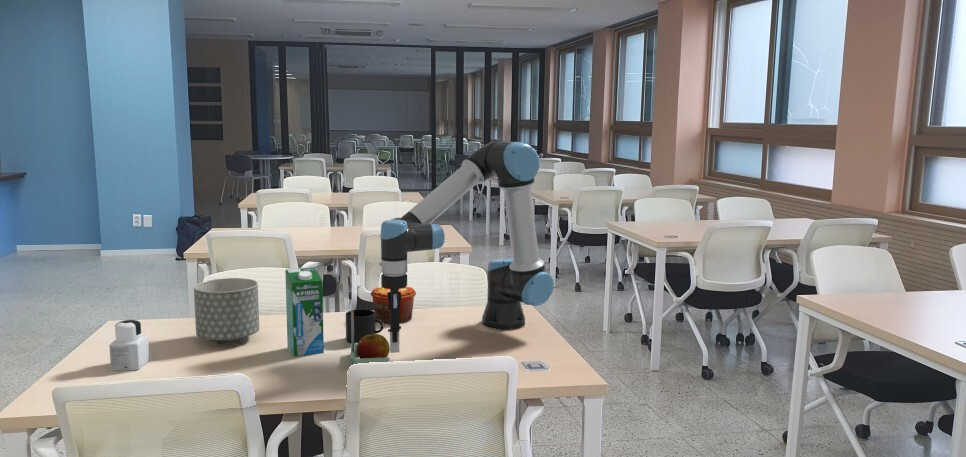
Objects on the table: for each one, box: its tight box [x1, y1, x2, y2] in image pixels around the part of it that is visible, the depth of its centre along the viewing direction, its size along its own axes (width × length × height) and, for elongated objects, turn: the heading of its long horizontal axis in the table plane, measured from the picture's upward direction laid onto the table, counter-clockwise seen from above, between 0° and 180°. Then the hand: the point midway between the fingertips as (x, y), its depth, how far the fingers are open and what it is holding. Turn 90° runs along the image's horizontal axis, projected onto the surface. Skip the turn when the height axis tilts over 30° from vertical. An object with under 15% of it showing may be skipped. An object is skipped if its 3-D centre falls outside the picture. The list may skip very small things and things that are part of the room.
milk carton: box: [284, 266, 325, 357], centre depth 216 cm, size 9×9×25 cm
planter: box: [193, 277, 260, 345], centre depth 225 cm, size 19×19×18 cm
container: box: [109, 319, 150, 371], centre depth 202 cm, size 8×8×13 cm
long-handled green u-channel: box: [349, 310, 391, 367], centre depth 207 cm, size 11×15×16 cm
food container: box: [370, 286, 417, 325], centre depth 252 cm, size 16×16×11 cm
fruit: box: [357, 333, 390, 359], centre depth 208 cm, size 10×9×8 cm
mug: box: [345, 308, 384, 344], centre depth 228 cm, size 9×12×9 cm
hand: (394, 351), depth 209 cm, fingers closed
